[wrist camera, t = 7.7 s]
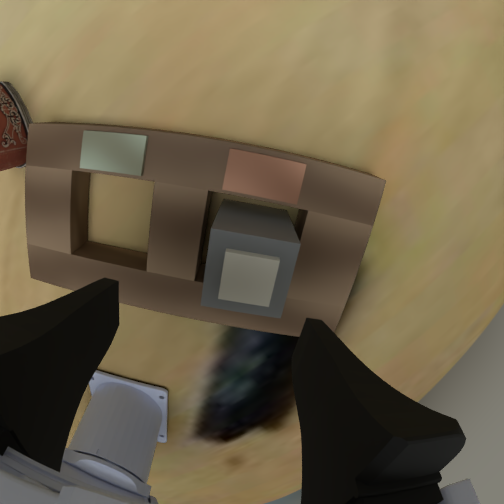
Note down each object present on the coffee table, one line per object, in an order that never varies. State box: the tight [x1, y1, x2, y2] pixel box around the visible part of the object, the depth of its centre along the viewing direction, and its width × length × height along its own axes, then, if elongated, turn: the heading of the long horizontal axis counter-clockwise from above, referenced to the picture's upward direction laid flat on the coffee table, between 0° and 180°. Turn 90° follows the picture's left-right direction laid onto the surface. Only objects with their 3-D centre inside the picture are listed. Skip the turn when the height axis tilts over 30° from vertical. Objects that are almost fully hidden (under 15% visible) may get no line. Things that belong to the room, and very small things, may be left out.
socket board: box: [25, 122, 386, 337], centre depth 18 cm, size 11×22×3 cm, turn 78°
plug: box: [201, 199, 301, 318], centre depth 17 cm, size 4×4×6 cm
